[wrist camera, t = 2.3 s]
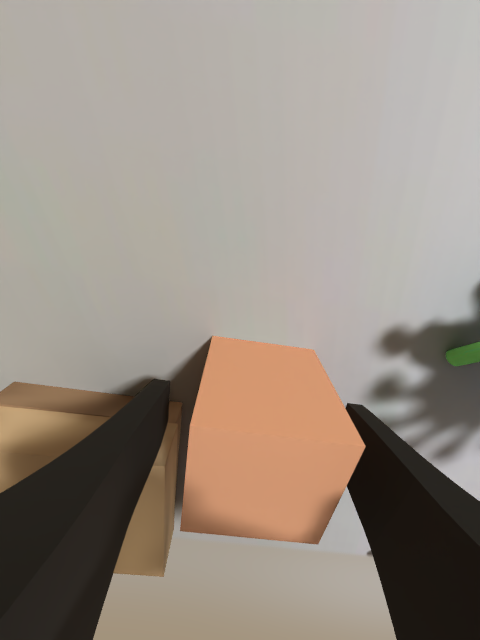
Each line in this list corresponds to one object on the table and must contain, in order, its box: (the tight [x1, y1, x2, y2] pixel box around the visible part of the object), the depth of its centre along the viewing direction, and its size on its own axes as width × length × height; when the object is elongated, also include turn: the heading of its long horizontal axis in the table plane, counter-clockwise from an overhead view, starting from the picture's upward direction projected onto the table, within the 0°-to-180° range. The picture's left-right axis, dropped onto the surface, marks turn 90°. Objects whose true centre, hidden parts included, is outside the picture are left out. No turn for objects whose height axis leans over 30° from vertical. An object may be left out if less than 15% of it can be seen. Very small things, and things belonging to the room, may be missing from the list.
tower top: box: [0, 406, 178, 577], centre depth 11 cm, size 8×8×2 cm
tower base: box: [0, 382, 182, 495], centre depth 13 cm, size 8×8×2 cm
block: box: [180, 336, 366, 544], centre depth 9 cm, size 4×4×5 cm
